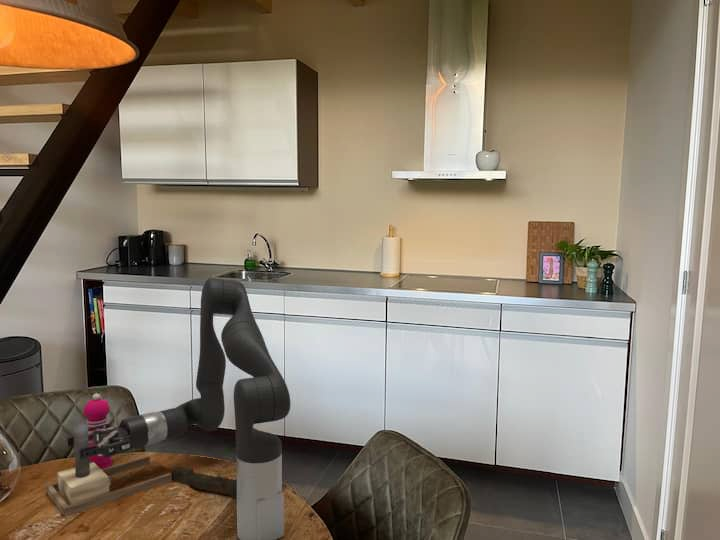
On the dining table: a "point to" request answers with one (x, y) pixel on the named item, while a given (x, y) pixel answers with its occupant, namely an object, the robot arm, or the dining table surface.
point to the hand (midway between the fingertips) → (72, 448)
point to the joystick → (82, 473)
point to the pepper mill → (97, 416)
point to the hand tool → (204, 481)
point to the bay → (110, 496)
